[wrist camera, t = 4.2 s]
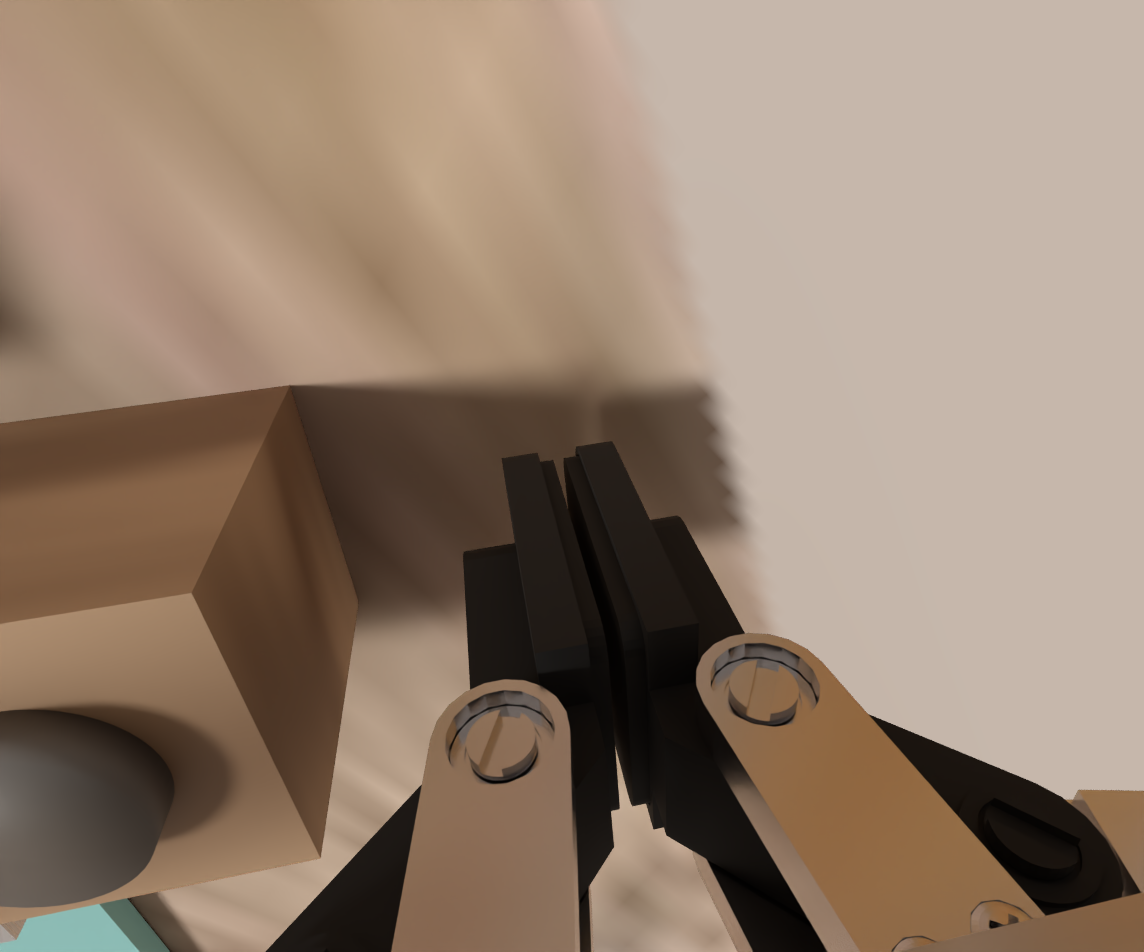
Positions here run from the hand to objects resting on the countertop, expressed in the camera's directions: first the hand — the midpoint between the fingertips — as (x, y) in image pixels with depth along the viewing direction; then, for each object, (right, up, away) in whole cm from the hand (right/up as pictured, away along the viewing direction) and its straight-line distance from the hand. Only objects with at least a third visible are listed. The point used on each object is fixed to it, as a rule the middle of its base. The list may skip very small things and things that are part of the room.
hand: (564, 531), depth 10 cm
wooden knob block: (-6, 0, +1) cm, 6 cm away
